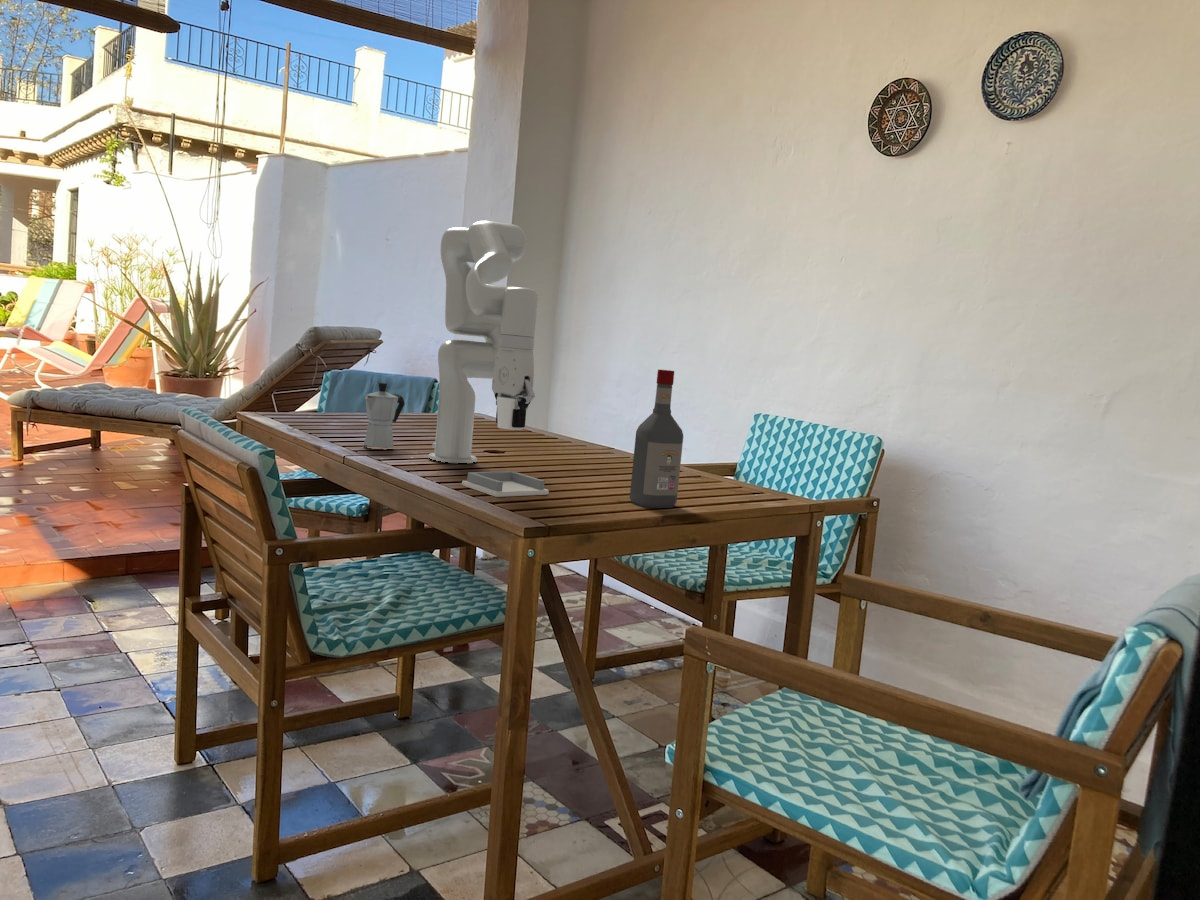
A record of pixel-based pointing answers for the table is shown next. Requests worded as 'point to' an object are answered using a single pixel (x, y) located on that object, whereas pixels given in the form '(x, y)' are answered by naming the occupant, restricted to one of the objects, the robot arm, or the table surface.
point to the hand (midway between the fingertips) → (510, 424)
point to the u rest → (505, 484)
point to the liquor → (657, 452)
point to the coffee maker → (382, 416)
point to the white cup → (506, 412)
